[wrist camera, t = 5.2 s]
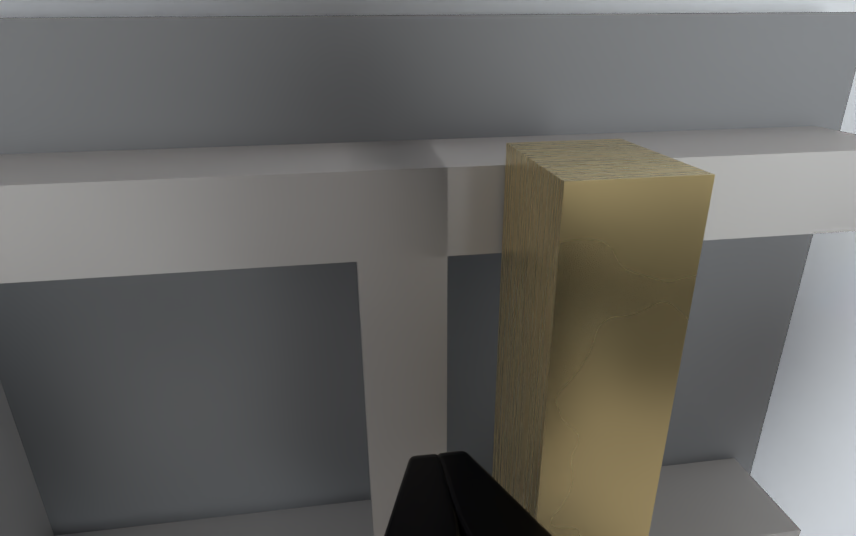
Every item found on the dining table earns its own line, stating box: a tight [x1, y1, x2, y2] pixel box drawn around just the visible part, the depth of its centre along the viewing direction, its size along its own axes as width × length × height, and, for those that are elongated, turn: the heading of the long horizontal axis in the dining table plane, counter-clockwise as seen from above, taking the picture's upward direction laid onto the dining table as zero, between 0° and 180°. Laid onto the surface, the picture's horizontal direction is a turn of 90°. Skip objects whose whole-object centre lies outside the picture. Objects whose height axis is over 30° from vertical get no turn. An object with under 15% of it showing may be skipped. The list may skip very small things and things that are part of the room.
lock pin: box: [492, 139, 715, 536], centre depth 8 cm, size 10×2×2 cm, turn 1°
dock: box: [0, 12, 856, 536], centre depth 10 cm, size 12×18×3 cm
